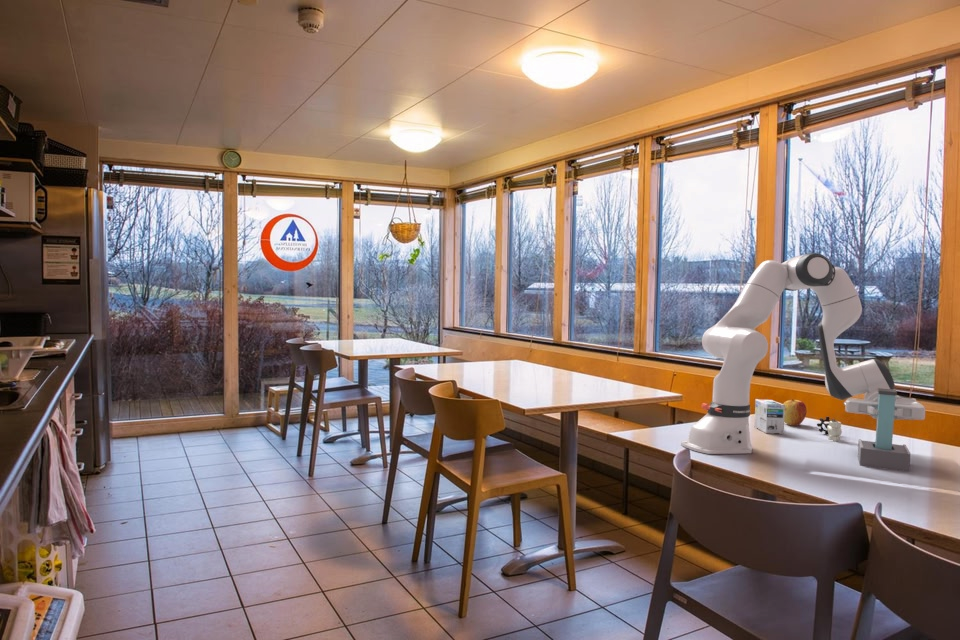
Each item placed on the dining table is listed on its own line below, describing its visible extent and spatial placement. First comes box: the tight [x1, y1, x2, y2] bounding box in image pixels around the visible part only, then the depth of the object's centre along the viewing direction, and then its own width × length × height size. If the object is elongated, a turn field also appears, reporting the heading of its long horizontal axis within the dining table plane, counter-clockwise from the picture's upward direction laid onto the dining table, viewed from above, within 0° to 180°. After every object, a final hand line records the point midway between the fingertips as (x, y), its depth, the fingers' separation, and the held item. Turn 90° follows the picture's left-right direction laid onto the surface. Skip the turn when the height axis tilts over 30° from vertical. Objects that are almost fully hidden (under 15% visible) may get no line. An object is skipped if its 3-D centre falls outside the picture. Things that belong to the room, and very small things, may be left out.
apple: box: [782, 398, 807, 427], centre depth 247 cm, size 9×9×10 cm
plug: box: [874, 388, 898, 450], centre depth 187 cm, size 4×4×18 cm
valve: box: [816, 416, 843, 442], centre depth 226 cm, size 7×7×12 cm
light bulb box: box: [754, 398, 785, 435], centre depth 235 cm, size 11×7×11 cm, turn 179°
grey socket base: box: [857, 438, 911, 473], centre depth 188 cm, size 12×12×6 cm
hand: (886, 412), depth 186 cm, fingers closed on plug, 4 cm apart
